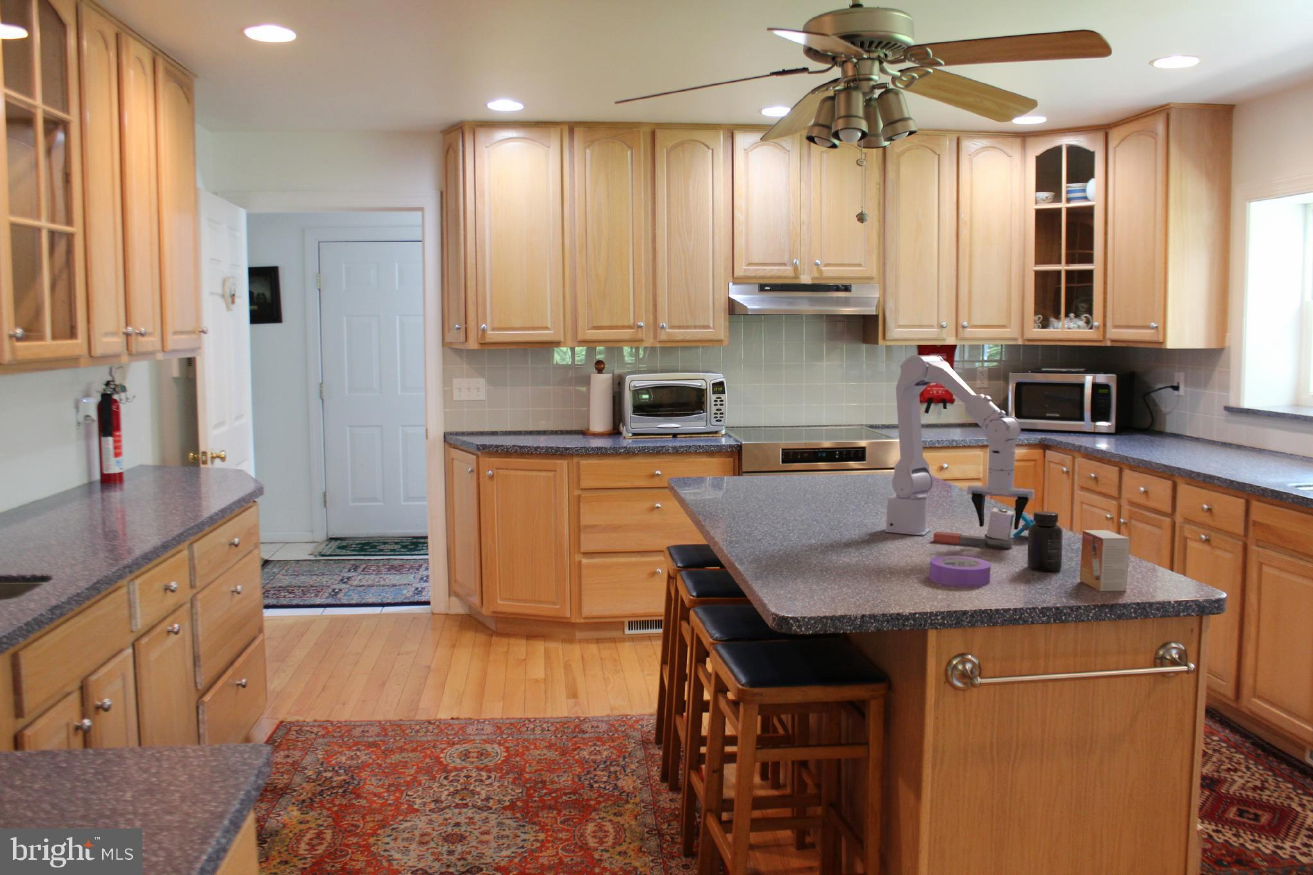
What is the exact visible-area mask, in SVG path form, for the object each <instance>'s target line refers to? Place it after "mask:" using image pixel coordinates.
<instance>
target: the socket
mask: <svg viewBox="0 0 1313 875" xmlns="http://www.w3.org/2000/svg"><path fill="white" fill-rule="evenodd" d="M1014 519H1015V511H1012V510H1007V509H1005V508H998V507H997V508H996V507H993V509H991V510H990V516H989V520H988V526H987V530H986V531H987V532H986V534H987V536H989V537H993V538H998V539H1003V540H1008V539H1009V538H1010V537H1011V535H1012V528H1013V525H1014V523H1013V522H1014Z"/></svg>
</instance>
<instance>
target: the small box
mask: <svg viewBox="0 0 1313 875" xmlns="http://www.w3.org/2000/svg"><path fill="white" fill-rule="evenodd" d="M1130 542H1131V538H1130V537H1127V536H1123V535H1121V534H1118V533H1116V532H1113V531H1111V530H1109V529H1101V530H1100V529H1099V530H1098V529H1096V530H1095V529H1093V530H1091V529H1085V530H1084V529H1083V530H1082V537H1081V550H1080V551H1081V554H1080V567H1079V568H1080V569H1079V570H1080V571H1079V581H1080V582H1081V583H1084V584H1086V585H1088V586H1090V587H1092V588H1094V589H1095V590H1097V591H1099V592H1125V591H1127V587H1128V576H1129V575H1128V574H1129V560H1130V557H1129V556H1130V544H1131V543H1130Z"/></svg>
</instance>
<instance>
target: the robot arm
mask: <svg viewBox="0 0 1313 875" xmlns="http://www.w3.org/2000/svg"><path fill="white" fill-rule="evenodd" d="M899 369H900V374H899V378H898V380H897V383H896V386H895V394H896V409H897V423H898V424H897V425H898V439H899V440H898V441H899V442H898V443H899V444H898V445H899V455H900V456H899V457H900V458H899V460H898V461H897V463H896V464H895V465H894V466H893V467H894V470H893V471H894V472H893V477H892V479H891V487H892V490H893V491H894V493H895V494H896V495H895V494H893V495H890V496H888V498H887V499H888V500H887V503H886V526H885V527H886V529H885V532H886V533H892V534H893V533H894V534H902V535H903V534H905V535H914V536H915V535H917V536H925V535H926V534H928V533H929V532H930V531H931V528H930V527H929V528H928V527H927V513H928V511H927V510H928V496H929V492H930V491H931V490H932V488H933V486H934V477H933V475H932V472H931V470H930V464H929V462H928V461H927V460H926V459H925V458H924V452H923V451H924V450H923V434H922V432H923V431H922V417H921V405H920V403H921V402H920V401H921V400H920V394H921V393H922V392H923V391H924V390H925V389H926V387H928V385H930V384H940V385H942V386H943V387H944V389H946V390H947V391H949V392H950V393H951V394H952V395H954V396H955V397H956V398H957V400H959V401H960V402H961V403H963V404H964V411H965V414H967V415H968V416H969V417H970V418H971V419H972V420H974V422H975V423H977V424H978V425H979V426H980V427H981V428H982V429H983V430H984V435H985V437H986V439H987V441H988V470H987V485H967V488H966V489H967V491H966V492H967V493H966V494H967V495H969V496H971V497H970V498H971V499H970V500H971V502H972V503H973V506H974V508H975V511H976V514H977V518H978V523H979V527H984V526H985V504H986V496H988V497H990V496H991V497H1000V498H1001V497H1004V498H1014V499H1015V498H1016V499H1015V500H1014V503H1015V504H1014V508H1015V510H1014V512H1015V513H1014V521H1013V522H1014V523H1013V529H1014V530H1016V531H1018V530H1019V529H1020V528H1019V527H1020V522H1021V520H1022V519H1021V516H1022V513H1024V510H1025V509H1026V507H1027V505H1028V502H1030V500H1034V499H1035V489H1027V488H1021V487H1020V488H1019V487H1014V485H1015V468H1016V467H1015V464H1016V440H1017V439H1018V438H1019V436H1020V435H1021V432H1022V429H1021V425H1020V422H1019V421H1018V419H1017V418H1016V417H1015V416H1011V415H1006V411H1005V410H1001V409H1000V408H999V407H998V406H997V405H995V404H994V403H993V401H992V400H993V399H992V397H991V396H990V395H985V394H983V393H981V394H976V393H975V392H974V391H973V390H972V389H971V388H970V387H969V385H967V384H966V382H965V381H964V380H963V379H962V378H961V377H960V376H959V375H958V374H957V373H956V372H955V371H954V370H953V369H952V367H951V365H950V363H948V362H947V361H946V360H944V359H943V358H942V357H941V356H940V355H938V354H930V355H918V354H913V355H910V356H908V357H907V358H906V359H905V360H904V361H903V362H902V363H901V364H900V368H899Z"/></svg>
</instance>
